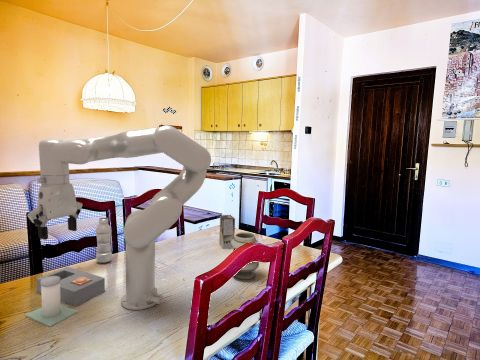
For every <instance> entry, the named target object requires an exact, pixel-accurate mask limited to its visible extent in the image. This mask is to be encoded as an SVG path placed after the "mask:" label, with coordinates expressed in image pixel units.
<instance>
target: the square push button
mask: <svg viewBox="0 0 480 360" xmlns="http://www.w3.org/2000/svg"><path fill="white" fill-rule="evenodd" d="M90 281H91V280H90V279H87V277H79V278H77V279H76V280H74V281H72V284H75V285H78V286H81V285H84V284H86V283H88V282H90Z"/></svg>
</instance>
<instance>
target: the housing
mask: <svg viewBox="0 0 480 360" xmlns="http://www.w3.org/2000/svg"><path fill="white" fill-rule="evenodd" d="M50 276H59V277H60V297H61V302H63V303H66V304H68V305H70V306H74V307H77V306H79V305H80V304H82V303H84V302H86V301H88V300H90V299H92V298H94V297H96V296H98V295H100V294H102V293H104V292H105V291H106V290H105V288H106V285H105V284H106V281H105V280H106V278H105V277H103V276H100V275H96V274H93V273H89V272H86V271H84V270H83V271H82V270H80V269H76V268H73V267H70V266H67V267H64V268H61V269H58V270H56V271H55V270H54V271H53V272H49V273H46V274H44V275H42V276H38V277H37V278H35V280H36V282H35V283H36V292H37V293H39V294H41V282H40V281H41V280H42V279H43V278H46V277H50ZM79 277H87V279H90V280H91V281H90V282H88V283H86V284H84V285H81V286H78V285H75V284H72V281H74V280H76V279H77V278H79Z"/></svg>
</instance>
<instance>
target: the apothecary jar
mask: <svg viewBox="0 0 480 360" xmlns="http://www.w3.org/2000/svg"><path fill="white" fill-rule="evenodd" d="M248 242H259V241H258V239H256V234H254V233H253V232H248V231H243V232H242V231H240V232H237V233H235V234H234V239H233V240H232V241H231V247H232V248H231V249H233V251H234V250H235V249H237V248H238V247H240V246H242V245H243V244H245V243H248ZM233 251H232V252H233ZM259 266H260V262H252V263H249V264H247V265H246V266H245V267H244V268H242V269H241V270H240V271H239V272H238V273H237V274H236V275H235V276H234V277H233V279H234V280H236V281H238V282H239V281H240V282H250V281H253V280H255V279H256V277H257V276H256V273H254V271H256V270H257V269H258V268H259Z"/></svg>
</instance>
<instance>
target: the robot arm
mask: <svg viewBox="0 0 480 360" xmlns="http://www.w3.org/2000/svg"><path fill="white" fill-rule="evenodd" d="M156 154H165V156H168V157H169V158H170V159H172V160H174V161H175V162H177V163H178V164H179V165H182V167H183V168H182V169H181V171H180V173H179V175H177V176H176V177H175V178H174V179H173V180H171V182H170V183H168V184H167V185H166V186H165V187H163V188H162V189H161V190H159V192H157V193H156V194H154V196H153V197H152V199H151V203H150V204H149V205H147V206H146V207H145V208H144V209H138V210H135V211H133V212H131V213H130V214H129V215H128V216H127V218H126V219H125V223H124V227H123V238H124V240H125V294H124V295H123V296H122V297H121V300H120V305H121V306H122V307H123V308H124V309H127V310H131V311H140V310H146V309H149V308H151V307H154V306H155V305H160V304H161V302H162V299H163V297H164V296H163V294H160V293H159V292H158V287H156V284H155V283H156V279H155V278H156V277H155V276H156V240H157V239H158V238H160V236H161V235H162V234H164V233H166V231H168V230H169V229H170V228H171V227H172V226H173V225H174V224H175V223H176V222H177V221H178V220H179V218H180V216H181V215H182V212H183V206H184V204H186V203H187V202H188V201H189V200H191V199H192V197H193V196H194V195H196V193H197V192H198V191H199V190H200V189H201V188H202V186H203V184H204V182H205V180H206V176H207V170H208V169H209V168H210V166H211V164H212V156H211V153H210V151H208V149H207V148H206V147H204V146H203V145H201V144H200V143H198V142H197V141H195V140H193V139H192V138H190V137H189V136H188V135H186V134H185V133H183V132H182V131H180V130H179V129H177V128H176V127H174V126H173V125H172V126H171V125H162V126H157V127H150V128H143V129H142V128H141V129H135V130H128V131H127V130H126V131H123V132H119V133H117V134H113V135H107V136H101V137H96V138H95V137H94V138H86V139H84V138H83V139H74V140H73V139H72V140H62V139H41V140H40V141H39V143H38V157H39V172H40V178H37V180H36V182H37V183H38V184H39V183H40V185H39V188H38V193H37V206H36V207H35V208H34V209H33V210H31V211H30V212H28V213H27V217H28V219H29V220H30V222H31V224H34V225H35V227H37V236H38V238H39V239H40V240H45V241H46V240H48V239H49V230H48V226H47V224H48V222H49V221H50V220H55V219H60V218H65V217H67V229H68V231H72V232H76V231H77V230H78V228H77V227H78V226H77V223H78V222H77V219H78V218H79V215H80V213H81V211H82V207H83V203H82V202H80V201H77V198H76V194H75V188H74V186H73V183H70V182H71V181H70V168H69V167H70V165H69V164H71V165H85V164H86V165H87V164H89V163H91V162H92V163H93V162H95V161H96V162H97V161H103V160H108V159H110V160H111V159H119V158H122V159H131V158H137V157H138V158H139V157H143V156H144V157H146V156H149V155H150V156H151V155H156ZM37 216H38V218H37Z"/></svg>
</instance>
